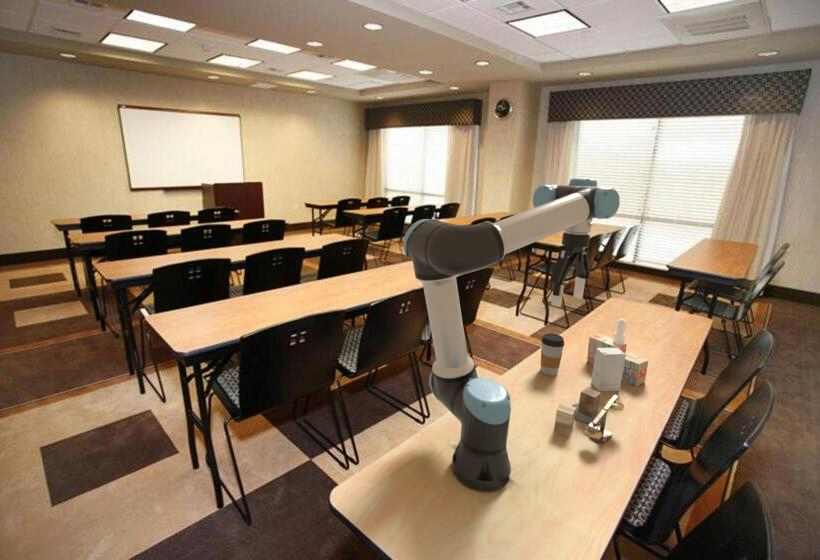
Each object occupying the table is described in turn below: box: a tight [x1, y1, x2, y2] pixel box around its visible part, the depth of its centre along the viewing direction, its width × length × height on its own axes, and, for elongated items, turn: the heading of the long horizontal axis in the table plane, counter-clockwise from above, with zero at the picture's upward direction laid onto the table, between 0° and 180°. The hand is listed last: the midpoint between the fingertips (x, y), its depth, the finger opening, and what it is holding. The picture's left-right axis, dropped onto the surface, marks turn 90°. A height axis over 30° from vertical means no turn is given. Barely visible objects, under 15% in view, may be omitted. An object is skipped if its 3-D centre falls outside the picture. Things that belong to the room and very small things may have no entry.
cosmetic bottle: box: [612, 317, 627, 344], centre depth 158 cm, size 6×6×22 cm
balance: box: [582, 394, 625, 445], centre depth 118 cm, size 19×5×11 cm, turn 132°
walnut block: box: [578, 386, 602, 418], centre depth 129 cm, size 4×4×7 cm
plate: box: [571, 402, 602, 425], centre depth 130 cm, size 10×10×1 cm
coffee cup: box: [540, 333, 565, 377], centre depth 156 cm, size 8×8×15 cm
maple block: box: [553, 402, 576, 437], centre depth 121 cm, size 4×4×7 cm
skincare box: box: [590, 348, 626, 392], centre depth 146 cm, size 8×6×15 cm
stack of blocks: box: [586, 333, 649, 387], centre depth 158 cm, size 21×6×12 cm, turn 28°
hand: (567, 301), depth 124 cm, fingers open, 13 cm apart
